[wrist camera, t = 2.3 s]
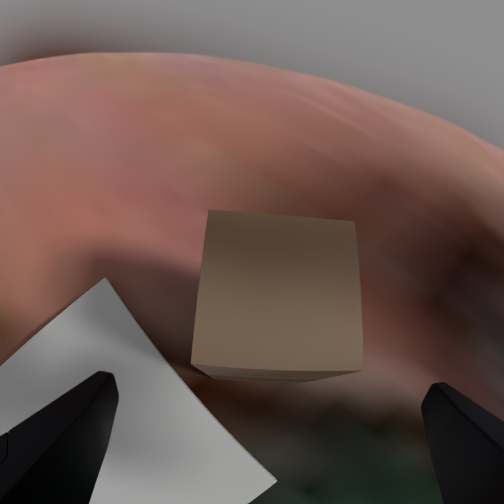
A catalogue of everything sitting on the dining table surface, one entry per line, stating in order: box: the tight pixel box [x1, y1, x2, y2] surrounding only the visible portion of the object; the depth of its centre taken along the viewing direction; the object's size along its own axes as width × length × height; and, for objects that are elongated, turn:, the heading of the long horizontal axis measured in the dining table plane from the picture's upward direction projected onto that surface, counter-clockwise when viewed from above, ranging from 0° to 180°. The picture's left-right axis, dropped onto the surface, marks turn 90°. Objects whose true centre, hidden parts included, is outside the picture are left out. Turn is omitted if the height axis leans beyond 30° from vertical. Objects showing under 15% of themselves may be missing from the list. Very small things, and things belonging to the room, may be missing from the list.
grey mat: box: [0, 278, 277, 504], centre depth 15 cm, size 16×16×1 cm
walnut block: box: [191, 210, 363, 383], centre depth 14 cm, size 5×5×10 cm
